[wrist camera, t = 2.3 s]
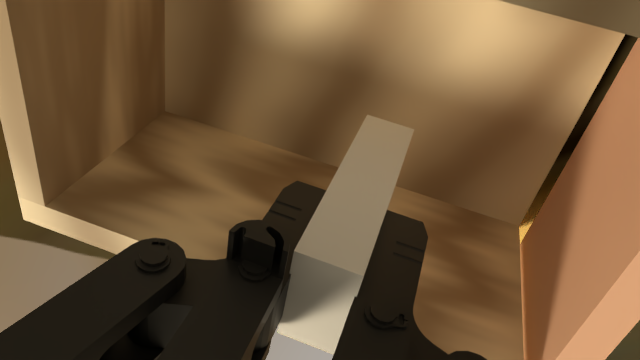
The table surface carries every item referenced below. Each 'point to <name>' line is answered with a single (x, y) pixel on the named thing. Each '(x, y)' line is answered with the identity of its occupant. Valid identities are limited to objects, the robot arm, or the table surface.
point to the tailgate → (588, 237)
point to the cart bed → (304, 123)
